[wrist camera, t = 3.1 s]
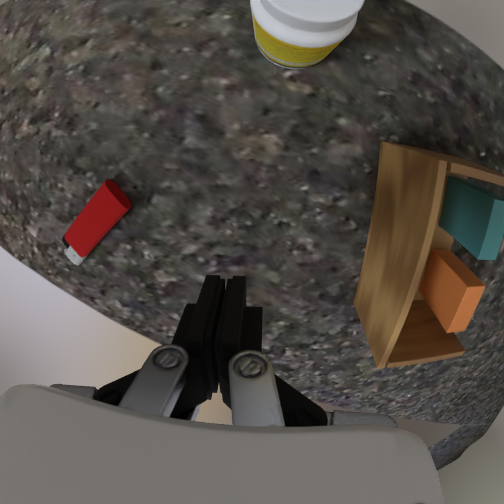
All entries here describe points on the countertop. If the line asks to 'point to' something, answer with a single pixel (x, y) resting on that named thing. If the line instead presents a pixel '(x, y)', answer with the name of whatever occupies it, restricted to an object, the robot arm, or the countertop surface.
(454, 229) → the block
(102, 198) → the lighter
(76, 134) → the countertop surface
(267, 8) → the supplement bottle
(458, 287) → the block
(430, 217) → the wooden crate
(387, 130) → the countertop surface
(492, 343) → the countertop surface
